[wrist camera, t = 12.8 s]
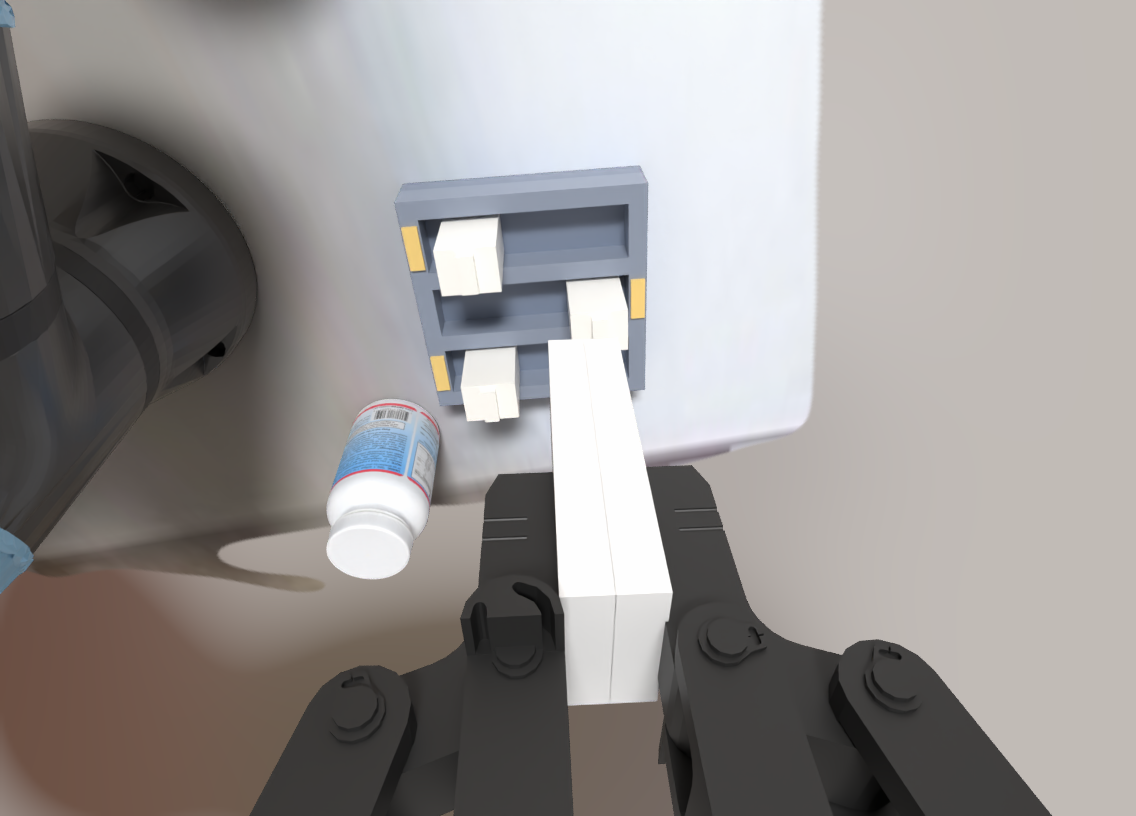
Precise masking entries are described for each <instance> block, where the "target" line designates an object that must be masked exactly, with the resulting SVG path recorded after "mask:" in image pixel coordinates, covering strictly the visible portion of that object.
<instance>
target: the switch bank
mask: <svg viewBox="0 0 1136 816" xmlns="http://www.w3.org/2000/svg"><path fill="white" fill-rule="evenodd" d="M394 204H395V208H396V213H397V217H398V222H399V226H400V230H401V235H402V239H403V244H404V248H405V253H406V257H407V262H408V266H409V270H410V275H411V279H412V284H413V288H414V293H415V297H416V302H417V306H418V310H419V315H420V319H421V324H422V328H423V333H424V337H425V341H426V346H427V350H428V355H429V359H430V364H431V368H432V373H433V377H434V381H435V386H436V390H437V395H438V399H439V404H440V406H448V405H460V404H464V402H463V397H462V392H461V381H462V374H463V367H464V360H465V352H466V349H478V348H490V347H503V346H516V345H517V351H518V359H519V367H520V389H519V400H523V399H535V398H548V397H550V386H549V353H548V340H571V334H570V325H569V316H568V306H567V291H566V280H567V279H580V278H593V277H606V276H618V275H619V279H620V282H621V286H622V290H623V293H624V297H625V301H626V305H627V308H628V350H621V354H622V359H623V363H624V368H625V373H626V377H627V382H628V387H629V391H635V390H645V344H646V282H647V220H648V182H647V180H646V178H645V176H644V174H643V171H642V169H641V167H640V166H628V167H615V168H602V169H589V170H576V171H563V172H551V173H538V174H525V175H512V176H499V177H486V178H473V179H460V180H447V181H434V182H421V183H408V184H403V185H402V187H401V190H400V192H399V194H398V196H397V198H396V200H395V202H394ZM492 214H500V221H501V229H502V237H503V245H504V262H503V278H502V292H492V293H479V294H478V295H465V296H462V295H454V296H442V294H441V289H440V284H439V279H438V274H437V269H436V264H435V259H434V254H433V250H434V246H435V243H436V239H437V236H438V232H439V228H440V225H441V221H442V218H454V217H466V216H479V215H492Z"/></svg>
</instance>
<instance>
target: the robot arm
mask: <svg viewBox="0 0 1136 816" xmlns="http://www.w3.org/2000/svg"><path fill="white" fill-rule="evenodd" d="M10 27H16V26H15V17H14V14H13V11H12V8H11V6H10V5H9V4H8V3H7V2H6V1H5V0H0V594H1V593H2V592H3V591H4V590H5V589H6V588H7V587H8V586H9V585H10V584H11V582H12V581H13V580H14V579H15V578H16V577H17V576H18V575H20V574H22V573H23V572H25V571H26V569H27V568H28V567H29V565H30V564H31V563H32V562H33V561H34V559H32V558H33V557H34V555H33V553H34V552H35V551H36V549H37V548H38V547H39V546H40V544H41V543H42V542H43V540H44V539H45V538H46V537H47V535H48V534H49V533H50V531H51V530H52V529H53V527H54V526H55V525H56V524H57V522H58V521H59V520H60V518H61V517H62V516H63V515H64V513H65V512H66V511H67V509H68V508H69V507H70V506H71V504H72V503H73V502H74V500H75V499H76V498H77V497H78V495H79V494H80V493H81V491H82V490H83V489H84V488H85V486H86V485H87V484H88V482H89V481H90V480H91V478H92V477H93V476H94V475H95V473H96V472H97V471H98V469H99V468H100V467H101V466H102V464H103V463H104V462H105V460H106V459H107V458H108V457H109V455H110V454H111V453H112V451H113V450H114V449H115V448H116V446H117V445H118V444H119V442H120V441H121V440H122V438H123V437H124V436H125V435H126V433H127V432H128V431H129V429H130V428H131V427H132V426H133V424H134V423H135V422H136V420H137V419H138V418H139V416H140V415H141V414H142V412H143V411H144V410H145V409H146V407H147V406H148V405H149V404H151V403H153V402H155V401H157V400H159V399H161V398H163V397H165V396H167V395H169V394H171V393H172V392H174V391H176V390H178V389H180V388H182V387H184V386H186V385H188V384H190V383H192V382H194V381H196V380H198V379H200V378H202V377H204V376H205V375H207V374H208V373H210V372H211V371H213V370H214V369H215V368H217V367H218V366H219V365H220V364H221V363H222V362H223V361H224V360H225V359H226V358H227V357H228V356H229V355H230V354H231V353H232V351H233V350H234V348H235V347H236V345H237V344H238V342H239V341H240V340H241V338H242V337H243V335H244V334H245V332H246V331H247V329H248V327H249V325H250V323H251V320H252V318H253V314H254V311H255V306H256V297H257V284H256V275H255V270H254V266H253V262H252V258H251V255H250V252H249V250H248V247H247V245H246V243H245V240H244V238H243V236H242V234H241V232H240V231H239V229H238V227H237V226H236V224H235V222H234V221H233V219H232V218H231V216H230V215H229V213H228V212H227V211H226V209H225V208H224V207H223V205H222V204H221V203H220V202H219V201H218V199H217V198H216V197H215V196H214V195H213V194H212V193H211V192H210V191H209V190H208V188H207V187H206V186H205V185H204V184H202V183H201V182H200V181H199V180H198V179H197V178H196V177H195V176H194V175H192V174H191V173H190V172H189V171H188V170H186V169H185V168H184V167H183V166H181V165H180V164H179V163H177V162H176V161H174V160H173V159H171V158H170V157H168V156H167V155H165V154H164V153H162V152H160V151H159V150H157V149H155V148H154V147H152V146H150V145H148V144H146V143H144V142H142V141H140V140H138V139H136V138H134V137H131V136H129V135H127V134H124V133H121V132H119V131H116V130H113V129H110V128H107V127H103V126H99V125H95V124H91V123H86V122H81V121H73V120H58V119H51V120H37V121H30V122H27V120H26V114H25V109H24V103H23V98H22V92H21V87H20V81H19V76H18V71H17V65H16V60H15V54H14V49H13V43H12V38H11V32H10ZM548 353H549V386H550V419H551V448H552V472H547V473H521V474H499V475H498V476H497V478H496V479H495V481H494V482H493V484H492V486H491V487H490V489H489V490H488V492H487V494H486V496H485V509H484V523H483V534H482V548H481V559H480V572H479V586H478V588H477V589H476V591H475V592H474V593H473V594H472V595H471V596H470V598H469V599H468V600H467V601H466V603H465V606H464V609H463V612H462V615H461V618H460V620H461V625H462V631H463V636H464V642H463V643H462V644H461V645H460V646H459V647H458V648H457V649H456V650H455V651H454V652H452V653H451V654H449V655H448V656H447V657H446V658H443V659H441V660H439V661H437V662H435V663H433V664H431V665H428V666H425V667H423V668H420V669H417V670H414V671H412V672H409V673H406V674H403V675H400V676H399V675H398V674H397V673H396V672H394V671H392V670H389V669H387V668H384V667H382V666H358V667H356V668H353V669H350V670H347V671H344V672H341V673H339V674H338V675H337V676H335V677H334V678H333V679H331V680H330V681H329V682H327V683H326V684H325V685H323V686H322V687H321V688H320V690H319V691H318V693H317V694H316V695H315V696H314V698H313V699H312V701H311V702H310V703H309V705H308V707H307V709H306V710H305V712H304V714H303V716H302V718H301V720H300V722H299V724H298V725H297V727H296V729H295V731H294V733H293V735H292V737H291V739H290V740H289V742H288V744H287V746H286V748H285V750H284V752H283V754H282V756H281V757H280V759H279V761H278V763H277V765H276V767H275V769H274V771H273V772H272V774H271V776H270V778H269V780H268V782H267V784H266V786H265V787H264V789H263V791H262V793H261V795H260V797H259V799H258V801H257V802H256V804H255V806H254V808H253V810H252V812H251V814H250V816H441V815H443V814H445V813H448V812H450V811H452V810H454V816H573V798H572V779H571V760H570V740H569V720H568V706H570V705H588V704H589V705H590V704H609V703H629V702H649V701H657V698H658V691H659V689H660V695H661V701H662V706H663V712H664V720H663V726H662V732H661V738H660V745H659V759H658V764H665V763H666V767H667V773H668V779H669V786H670V792H671V798H672V804H673V811H674V816H1052V815H1051V814H1050V813H1049V811H1048V810H1047V809H1046V808H1045V807H1044V805H1043V804H1042V803H1041V802H1040V800H1039V799H1038V798H1037V797H1036V795H1035V794H1034V793H1033V792H1032V791H1031V789H1030V788H1029V787H1028V785H1027V784H1026V783H1025V782H1024V781H1023V780H1022V778H1021V777H1020V776H1019V774H1018V773H1017V772H1016V771H1015V769H1014V768H1013V767H1012V766H1011V765H1010V763H1009V762H1008V761H1007V760H1006V758H1005V757H1004V756H1003V755H1002V753H1001V752H1000V751H999V750H998V748H997V747H996V746H995V745H994V744H993V742H992V741H991V740H990V739H989V737H988V736H987V735H986V734H985V732H984V731H983V730H982V729H981V727H980V726H979V725H978V724H977V723H976V721H975V720H974V719H973V718H972V716H971V715H970V714H969V713H968V711H967V710H966V709H965V708H964V706H963V705H962V704H961V703H960V702H959V700H958V699H957V698H956V697H955V695H954V694H953V693H952V692H951V691H950V689H949V688H948V687H947V686H946V684H945V683H944V682H943V681H942V679H941V678H940V677H939V676H938V674H937V673H936V672H935V671H934V670H933V669H932V668H931V667H930V666H929V665H928V664H927V663H926V662H925V661H923V660H922V659H921V658H920V657H919V656H918V655H916V654H915V653H913V652H911V651H909V650H907V649H905V648H904V647H902V646H900V645H898V644H894V643H890V642H886V641H882V640H866V641H859V642H857V643H855V644H854V645H852V646H850V647H849V648H847V649H846V650H845V652H844V653H843V655H839V654H835V653H831V652H827V651H823V650H819V649H815V648H812V647H808V646H804V645H800V644H797V643H794V642H792V641H789V640H786V639H784V638H782V637H781V636H779V635H777V634H776V633H774V632H772V631H771V630H770V629H769V628H767V627H766V626H765V625H764V624H763V623H762V622H761V621H760V620H759V619H758V618H757V617H756V615H755V614H754V613H753V611H752V610H751V608H750V606H749V604H748V601H747V599H746V596H745V593H744V590H743V588H742V584H741V581H740V578H739V575H738V572H737V568H736V565H735V562H734V559H733V556H732V553H731V550H730V547H729V544H728V541H727V537H726V534H725V531H723V525H722V522H721V519H720V516H719V513H718V512H717V507H716V504H715V500H714V497H713V494H712V491H711V488H710V485H709V484H708V482H707V481H706V480H705V479H704V478H703V477H702V476H701V475H700V474H699V473H698V472H697V470H696V469H694V467H693V466H692V465H688V466H662V467H646V466H645V461H644V456H643V452H642V447H641V442H640V438H639V433H638V428H637V424H636V419H635V415H634V410H633V405H632V401H631V396H630V391H629V387H628V382H627V377H626V373H625V368H624V363H623V359H622V354H621V349H620V345H619V340H618V338H605V339H572V340H548Z"/></svg>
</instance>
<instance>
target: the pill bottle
mask: <svg viewBox="0 0 1136 816" xmlns="http://www.w3.org/2000/svg"><path fill="white" fill-rule="evenodd" d="M439 440H440V433H439V428H438V425H437V423H436V421H435V419H434V418H433V417H432V415H431V414H430V413H429V412H428V411H426V410H425V409H424V408H422V407H421V406H419V405H417V404H415V403H412V402H409V401H406V400H401V399H384V400H379V401H376V402H373V403H371V404H369V405H368V406H366V407H365V408H364V409H362V410H361V411H360V413H359V414H358V415H357V417H356V419H355V421H354V423H353V426H352V429H351V431H350V434H349V437H348V440H347V443H346V446H345V449H344V452H343V455H342V458H341V461H340V464H339V467H338V470H337V473H336V476H335V479H334V482H333V485H332V489H331V492H330V495H329V498H328V502H327V517H328V520H329V523H330V525H331V527H332V528H331V530H330V535H329V539H328V543H327V547H326V551H327V555H328V558H329V559H330V561H331V562H332V564H333V565H334V566H335V567H336V568H338V569H339V570H341V571H342V572H344V573H346V574H348V575H351V576H354V577H358V578H363V579H382V578H387V577H390V576H392V575H395V574H397V573H398V572H400V571H401V570H402V569H403V568H405V566H406V565H407V563H408V562H409V559H410V555H411V549H412V547H413V541H414V540H415V539H416V538H417V537H418V536H419V535H420V534H421V533H422V531H423V530H424V528H425V526H426V523H427V521H428V516H429V510H430V504H431V497H432V490H433V483H434V476H435V469H436V462H437V455H438V448H439Z"/></svg>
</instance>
